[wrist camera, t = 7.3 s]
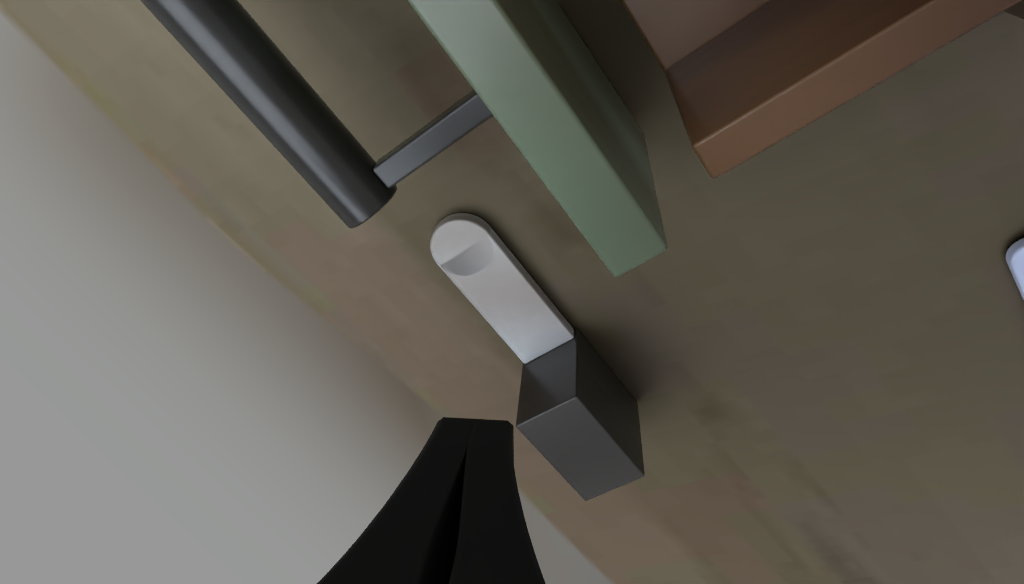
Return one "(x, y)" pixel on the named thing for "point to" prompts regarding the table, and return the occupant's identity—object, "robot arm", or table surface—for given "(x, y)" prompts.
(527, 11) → the drawer
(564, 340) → the grey sheathed bar
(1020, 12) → the cabinet
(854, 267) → the table surface
